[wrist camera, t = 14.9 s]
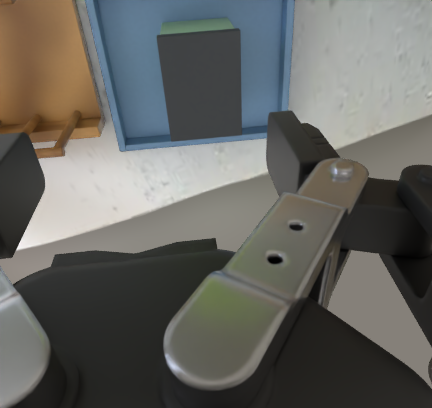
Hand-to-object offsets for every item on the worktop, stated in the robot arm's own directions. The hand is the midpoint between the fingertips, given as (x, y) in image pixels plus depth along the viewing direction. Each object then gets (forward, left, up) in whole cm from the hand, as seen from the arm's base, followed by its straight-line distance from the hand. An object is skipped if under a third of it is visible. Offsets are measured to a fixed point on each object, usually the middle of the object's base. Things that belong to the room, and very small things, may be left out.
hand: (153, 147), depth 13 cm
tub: (+2, -4, -21) cm, 22 cm away
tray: (+2, -4, -22) cm, 22 cm away
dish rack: (-12, -2, -22) cm, 25 cm away
